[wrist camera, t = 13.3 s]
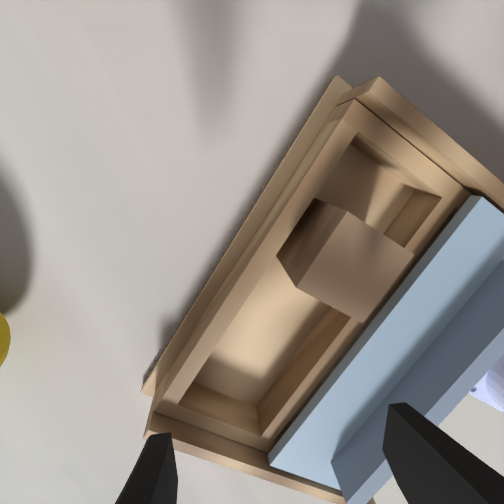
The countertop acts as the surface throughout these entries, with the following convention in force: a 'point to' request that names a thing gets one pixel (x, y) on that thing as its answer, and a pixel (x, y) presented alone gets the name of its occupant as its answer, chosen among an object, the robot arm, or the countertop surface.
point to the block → (341, 259)
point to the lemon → (4, 338)
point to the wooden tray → (283, 290)
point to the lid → (407, 358)
